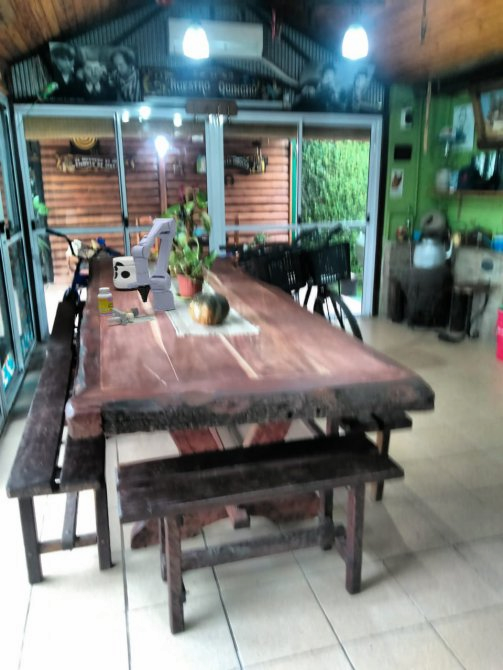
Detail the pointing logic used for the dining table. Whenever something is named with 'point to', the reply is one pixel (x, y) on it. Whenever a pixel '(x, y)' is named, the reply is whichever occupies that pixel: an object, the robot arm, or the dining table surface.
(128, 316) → the ivory knob
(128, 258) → the milk container
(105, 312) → the supplement bottle
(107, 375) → the dining table surface
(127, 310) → the dial
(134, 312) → the charcoal knob
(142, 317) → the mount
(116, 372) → the dining table surface
